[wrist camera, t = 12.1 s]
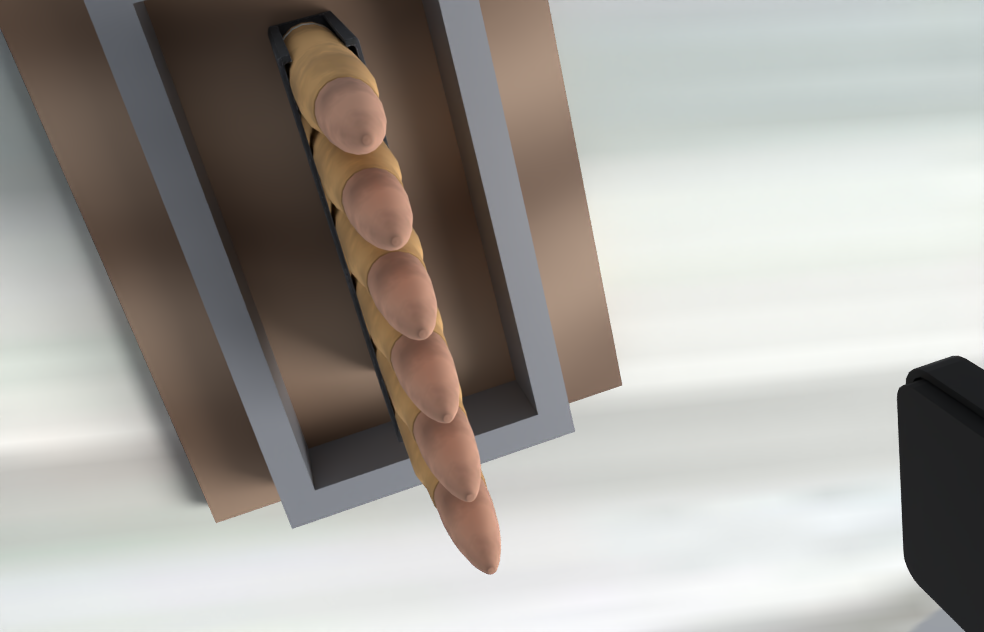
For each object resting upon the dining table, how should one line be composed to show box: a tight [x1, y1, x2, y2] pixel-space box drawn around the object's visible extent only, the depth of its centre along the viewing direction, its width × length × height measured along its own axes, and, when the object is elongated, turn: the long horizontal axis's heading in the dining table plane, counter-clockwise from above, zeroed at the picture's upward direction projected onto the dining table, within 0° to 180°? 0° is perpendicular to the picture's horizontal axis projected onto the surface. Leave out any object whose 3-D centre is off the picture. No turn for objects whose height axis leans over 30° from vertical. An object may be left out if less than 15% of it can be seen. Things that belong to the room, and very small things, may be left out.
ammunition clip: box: [268, 11, 501, 574], centre depth 22 cm, size 11×2×12 cm, turn 13°
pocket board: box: [0, 0, 622, 529], centre depth 27 cm, size 17×14×4 cm
